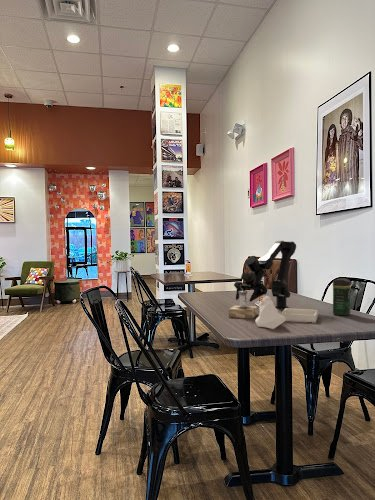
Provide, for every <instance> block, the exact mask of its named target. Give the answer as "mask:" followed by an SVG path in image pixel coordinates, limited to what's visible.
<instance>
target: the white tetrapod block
mask: <svg viewBox="0 0 375 500" xmlns="http://www.w3.org/2000/svg"><path fill="white" fill-rule="evenodd" d="M275 307H276V306H275V304H274V302H273V300H272V299H271V296H268V295H265V296H263V298H262V300H261V303H260V305H259V307H258V311H259V313H258V317H256V319H255V321H254V322H255V324H256V326H257V327H259V328H267V329H270V330H271V329H272V330H275V329H276V328H277V327H279V326H280V325H281V324H283V323H284V322H287V321H286V319H285V316H283V315H281V313H280V312H279V310H278V308H275Z"/></svg>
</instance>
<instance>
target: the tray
mask: <svg viewBox="0 0 375 500" xmlns="http://www.w3.org/2000/svg"><path fill="white" fill-rule="evenodd" d="M280 314H281V315H283V316H285V319H286V321H285V322H293V323H294V322H295V323H307V322H312V323H311V324H316V323H317V320H318V317H319V314H318V309H309V308H308V309H307V308H306V309H305V308H288V307H287V308H283V310H282V312H281V313H280Z"/></svg>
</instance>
